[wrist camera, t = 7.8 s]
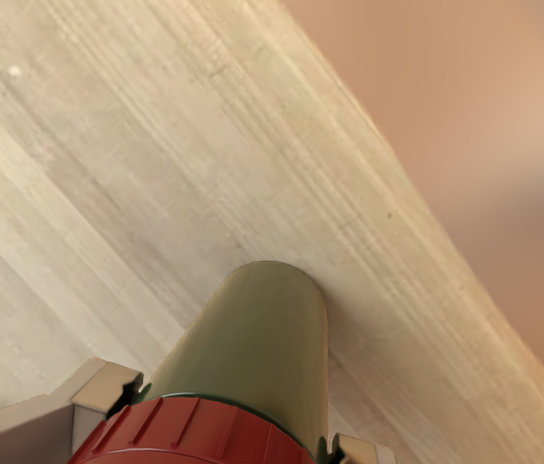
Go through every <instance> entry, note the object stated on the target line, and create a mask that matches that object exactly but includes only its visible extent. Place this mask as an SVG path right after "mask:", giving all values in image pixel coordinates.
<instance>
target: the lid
mask: <svg viewBox="0 0 544 464" xmlns="http://www.w3.org/2000/svg"><path fill="white" fill-rule="evenodd" d="M66 464H316V462H315V461H314V460H313V459H312V458H311V457H310V456H309V455H308V451H307V450H306V449H305V448H302V447H301V446H300V445H298V444H297V443H296V442H295V441H294V440H293V439H292V438H290V437H289V436H288V435H287V434H285V433H284V432H282V431H281V430H280V429H278V428H277V427H276V425H274V424H272V423H269V422H267V421H265V420H263V419H261V418H260V417H258V416H256V415H254V414H252V413H249V412H247V411H244V410H242V409H240V408H239V407H237V406H231V405H228V404H224V403H221V402H217V401H212V400H206V399H201V398H199V397H194V398H190V397H169V398H162V397H157V398H156V399H154V400H148V401H144V402H141V403H138V404H135V405H132V406H129V405H126V406H124V408H123V409H122V410H121V411H120V412H118V413H116V414H115V415H114V416H112V417H111V418H109V419H108V420H107V421H105V422H104V421H103V420H101V421H100V422H99V423H98V425H97V426H96V427H95V428H94V430H93V431H92V432H91V433H90V434H89V436H88V437H87V438H86V439H85V441H84V442H83V443H82V444H81V445H80V447H79V448H78V449H77V450H76V452H75V453H74V454H73V455H72V456H71V458H70V459H69V460H68V461H67V463H66Z"/></svg>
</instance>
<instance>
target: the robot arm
mask: <svg viewBox="0 0 544 464" xmlns="http://www.w3.org/2000/svg"><path fill="white" fill-rule="evenodd" d="M143 377H144V374H143V373H142V372H139V371H136V370H133V369H130V368H127V367H124V366H121V365H118V364H115V363H112V362H108V361H105V360H102V359H99V358H96V357H94V358H91V359H89V360H88V361H87V362H86V363H85V364H83V365H82V366H81V367H80V368H79V369H78V370H77V371H76V372H75V373H74V374H72V375H71V376H70V377H69V378H68V379H67V380H66V381H65V382H64V383H63V384H61V385H60V386H59V387H58V388H57V389H56V390H55V391H54V392H53V393H52V394H50V395H46V394H43V395H40V396H37V397H34V398H32V399H29V400H26V401H23V402H20V403H17V404H15V405H12V406H9V407H6V408H3V409H1V410H0V464H66V463H67V461H68V460H69V459H70V458H71V456H72V455H73V454H74V453H75V452H76V450H77V449H78V448H79V447H80V445H81V444H82V443H83V442H84V441H85V439H86V438H87V437H88V436H89V434H90V433H91V432H92V431H93V430H94V428H95V427H96V426H97V425H98V423H99V422H100V421H101V420H103V421H104V422H105V421H107V420H108V419H109V418H111V417H112V416H114V415H115V414H116V413H118V412H120V411H121V410H122V409H123V408H124V406H126V405H129V406H130V405H131V404H132V402H133V401H134V400H135V398H136V397H137V396H138V394H139V392H138V390H139V389H140V387H141V386H142V384H143ZM329 464H397V461H396V457H395V452H394V451H393V449H392V448H389V447H386V446H382V445H379V444H376V443H372V442H368V441H365V440H361V439H358V438H355V437H351V436H348V435H345V434H341V433H338V432H337V433H336V434H335V436H334V438H333V441H332V453H331V454H329Z"/></svg>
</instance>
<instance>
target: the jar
mask: <svg viewBox="0 0 544 464" xmlns="http://www.w3.org/2000/svg"><path fill="white" fill-rule="evenodd" d="M157 397H162V398H169V397H190V398H194V397H199V398H201V399H206V400H212V401H217V402H221V403H224V404H228V405H231V406H237V407H239V408H240V409H242V410H244V411H247V412H249V413H252V414H254V415H256V416H258V417H260V418H261V419H263V420H265V421H267V422H269V423H272V424H274V425H276V427H277V428H278V429H280V430H281V431H282V432H284V433H285V434H287V435H288V436H289V437H290V438H292V439H293V440H294V441H295V442H296V443H297V444H298V445H300V446H301V447H302V448H305V449H306V450H307V451H308V455H309V456H310V457H311V458H312V459H313V460H314V461H315V462H316V464H329V425H328V321H327V308H326V304H325V301H324V298H323V296H322V294H321V292H320V290H319V289H318V287H317V286H316V285H315V283H314V282H313V281H312V280H311V279H310V278H309V277H308V276H306V275H305V274H304V273H303V272H301V271H299V270H298V269H296V268H294V267H292V266H290V265H287V264H284V263H279V262H274V261H259V262H253V263H250V264H247V265H244V266H242V267H240V268H238V269H237V270H235V271H234V272H232V273H231V274H230V275H229V276H228V277H227V278H226V279H225V280H224V282H223V283H222V284H221V286H220V287H219V288H218V289H217V291H216V292H215V293H214V295H213V296H212V297H211V299H210V300H209V301H208V303H207V304H206V305H205V307H204V308H203V309H202V311H201V312H200V313H199V315H198V316H197V317H196V319H195V320H194V321H193V323H192V324H191V325H190V327H189V328H188V329H187V331H186V332H185V333H184V335H183V336H182V337H181V339H180V340H179V341H178V343H177V344H176V345H175V347H174V348H173V349H172V351H171V352H170V353H169V355H168V356H167V357H166V358H165V360H164V361H163V362H162V364H161V365H160V366H159V368H158V369H157V370H156V372H155V373H154V374H153V376H152V377H151V378H150V380H149V381H148V382H147V384H146V385H145V386H144V388H143V389H142V390H141V392H140V393H139V394H138V396H137V397H136V398H135V400H134V401H133V402H132V404H131V405H130V406H132V405H135V404H138V403H141V402H144V401H148V400H154V399H156V398H157Z"/></svg>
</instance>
